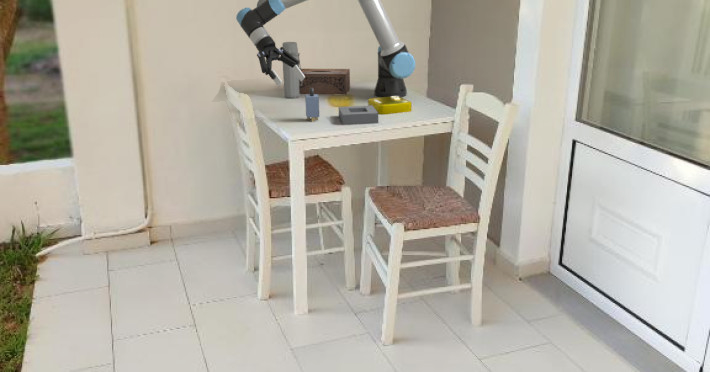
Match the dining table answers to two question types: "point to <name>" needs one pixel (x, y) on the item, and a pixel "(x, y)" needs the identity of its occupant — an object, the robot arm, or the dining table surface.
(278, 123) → the dining table surface
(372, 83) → the dining table surface
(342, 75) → the tissue box cover
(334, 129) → the dining table surface
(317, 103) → the plug
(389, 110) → the element tile
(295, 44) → the water bottle
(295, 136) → the dining table surface
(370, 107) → the socket
